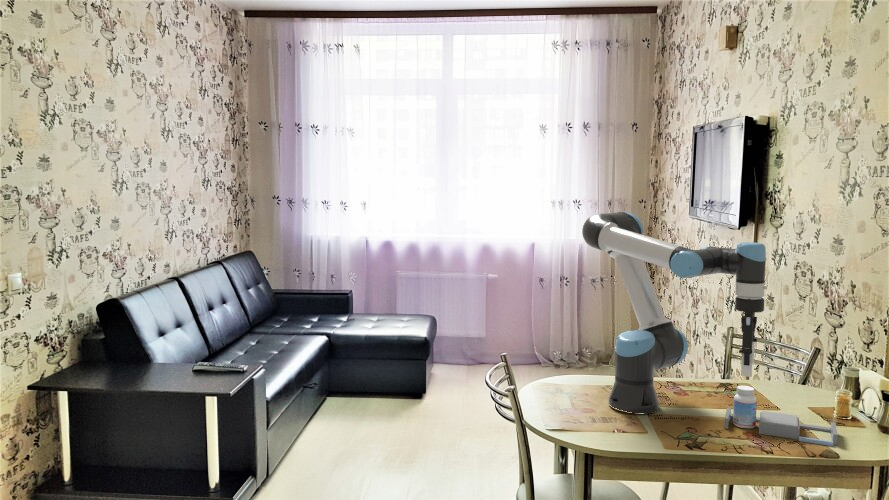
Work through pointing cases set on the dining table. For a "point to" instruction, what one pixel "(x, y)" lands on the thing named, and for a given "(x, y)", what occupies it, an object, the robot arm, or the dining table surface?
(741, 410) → the pill bottle
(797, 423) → the grey block with rods
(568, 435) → the dining table surface
